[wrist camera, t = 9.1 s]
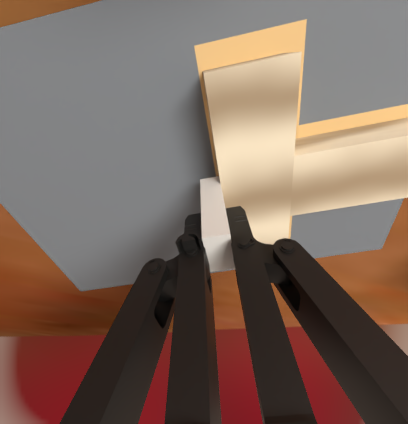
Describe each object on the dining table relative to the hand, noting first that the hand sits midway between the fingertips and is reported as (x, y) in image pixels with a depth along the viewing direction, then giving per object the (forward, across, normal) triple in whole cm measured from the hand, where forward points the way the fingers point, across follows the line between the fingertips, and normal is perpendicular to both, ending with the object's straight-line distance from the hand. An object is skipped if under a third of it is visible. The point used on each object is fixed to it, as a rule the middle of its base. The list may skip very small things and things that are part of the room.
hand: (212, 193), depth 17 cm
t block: (+2, +8, 0) cm, 8 cm away
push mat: (+2, -1, 0) cm, 2 cm away
